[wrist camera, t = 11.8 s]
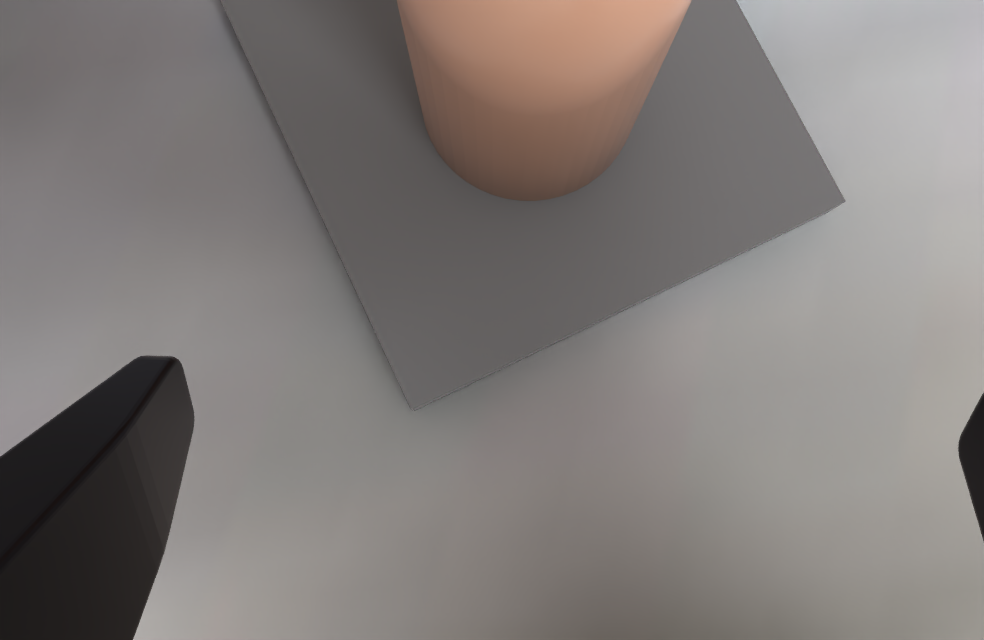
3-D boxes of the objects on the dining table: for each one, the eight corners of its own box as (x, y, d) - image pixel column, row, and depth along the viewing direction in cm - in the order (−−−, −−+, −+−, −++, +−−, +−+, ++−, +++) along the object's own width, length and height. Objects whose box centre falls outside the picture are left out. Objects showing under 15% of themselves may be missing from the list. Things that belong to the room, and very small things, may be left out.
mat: (827, 212, 20) (845, 201, 19) (414, 410, 20) (411, 409, 19) (622, -167, 22) (629, -195, 21) (227, 7, 21) (213, -13, 20)
